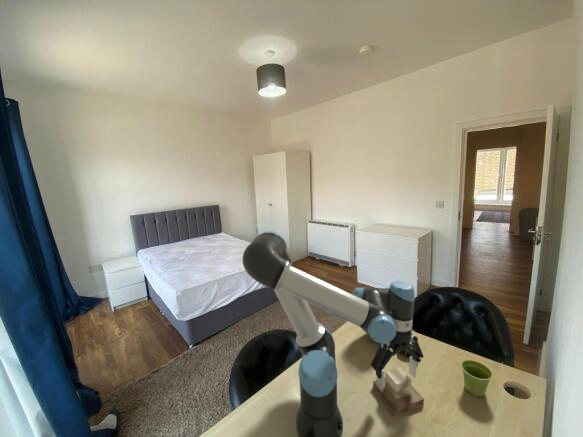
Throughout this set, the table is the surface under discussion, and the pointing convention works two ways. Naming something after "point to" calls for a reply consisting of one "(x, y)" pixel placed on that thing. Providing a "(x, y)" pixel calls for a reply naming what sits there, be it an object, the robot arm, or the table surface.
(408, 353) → the tape measure
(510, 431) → the table surface
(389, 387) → the cube
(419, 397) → the stand
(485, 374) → the plant pot
